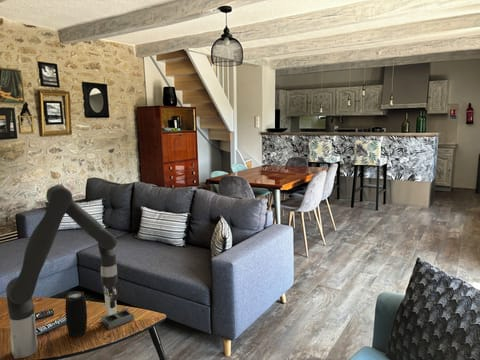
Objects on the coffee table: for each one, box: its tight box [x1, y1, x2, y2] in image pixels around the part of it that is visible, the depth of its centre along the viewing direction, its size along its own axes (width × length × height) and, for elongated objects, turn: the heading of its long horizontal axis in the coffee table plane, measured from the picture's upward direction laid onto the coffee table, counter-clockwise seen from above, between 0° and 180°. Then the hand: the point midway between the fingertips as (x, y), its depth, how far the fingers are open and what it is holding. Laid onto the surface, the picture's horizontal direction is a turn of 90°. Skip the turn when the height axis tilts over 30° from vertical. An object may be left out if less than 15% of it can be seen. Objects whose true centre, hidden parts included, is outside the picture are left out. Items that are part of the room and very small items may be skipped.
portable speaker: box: [64, 290, 88, 338], centre depth 172 cm, size 9×9×20 cm
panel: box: [100, 308, 135, 330], centre depth 185 cm, size 13×10×3 cm
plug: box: [104, 293, 118, 316], centre depth 182 cm, size 5×4×10 cm
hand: (110, 305), depth 182 cm, fingers closed on plug, 4 cm apart
